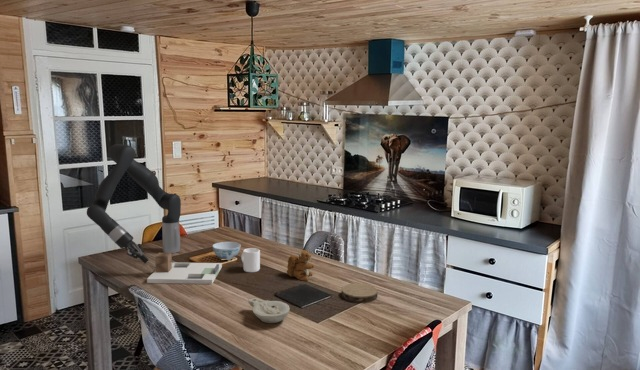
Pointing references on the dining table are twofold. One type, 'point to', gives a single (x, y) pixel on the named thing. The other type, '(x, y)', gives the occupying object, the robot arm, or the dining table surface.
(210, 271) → the pad
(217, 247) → the chinaware
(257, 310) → the oil lamp
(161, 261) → the block
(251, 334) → the dining table surface
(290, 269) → the stuffed squirrel
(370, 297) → the wood slice
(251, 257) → the mug
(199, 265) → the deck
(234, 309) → the dining table surface
